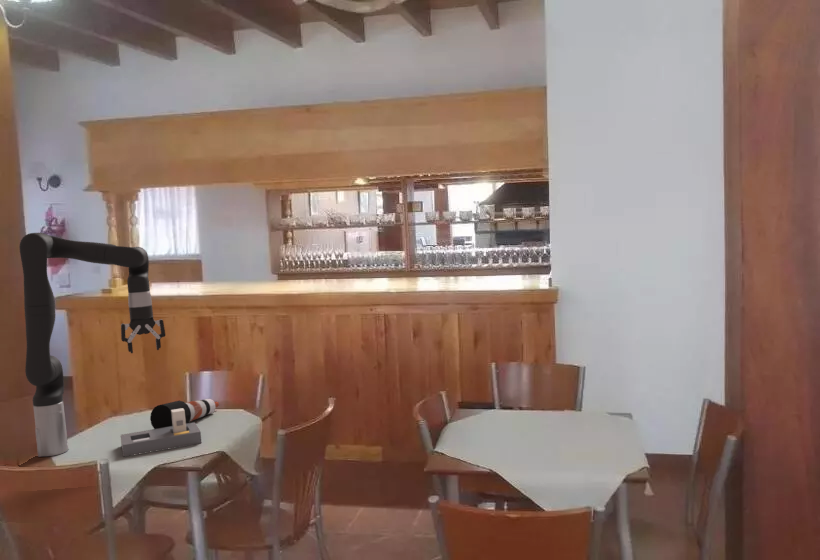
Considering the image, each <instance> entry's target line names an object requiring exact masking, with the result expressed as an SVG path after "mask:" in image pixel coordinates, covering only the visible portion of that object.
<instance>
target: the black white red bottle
mask: <svg viewBox="0 0 820 560" xmlns="http://www.w3.org/2000/svg"><path fill="white" fill-rule="evenodd" d="M219 406H220V404H219V401H214V400H213V399H211V398H206V399H201V400H191V401H188V402H185V401H182V400H175V401H171V402H166V403H162V404H159V405H156V406H154V407H153V408H152V410H151V412H150V418H149V420H150V424H151V426H152V428H153V429H158V428H164V427H170V426H173V425H172V414H171V410H174V409H180V408H183V409H184V410H185V420H186V424H188V423H192V421H194V420H198V419H200V418H203V417H206V416H208V415H210V414H213V413H214V412H215V411H216V408H218V407H219Z"/></svg>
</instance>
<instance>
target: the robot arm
mask: <svg viewBox="0 0 820 560" xmlns="http://www.w3.org/2000/svg"><path fill="white" fill-rule="evenodd" d="M18 248H19V253H20V254H19V255H20V260H21V265H22V274H23V296H24V297H23V298H24V299H23V300H24V301H23V305H24V319H25V321H24V322H25V337H26V339H25V340H26V354H25V356H26V357H25V369H24V370H25V372H24V373H25V376H26V377H25V378H26V379H27V381H28V382H29V383H30V385H32V386H34V387H35V392H34V394H33V397H32V407H33V416H34V424H35V430H34V431H35V439H36V450H37V457H39V458H40V457H51V456H52V457H53V456H58V455H61V454H64V453H67V451H69V443H68V434H67V433H68V432H67V426H66V425H67V424H66V415H65V407H64V392H65V382H64V371H63V370H64V368H63V366H62V365H63V364H62V363H61V361H60V359H59V358H57V357H56V356H53V355H51V351H50V346H51V338H52V336H53V335H52V334H53V332H54V326H55V324H56V323H55V322H56V302H55V295H54V292H53V289H52V287H51V283H50V281H49V276H48V259H72V260H77V261H82V262H86V263H93V264H100V265H101V264H102V265H109V266H110V265H112V266H113V265H114V266H118V267H123V268H124V267H125V268H128V277H127V279H126V281H127V291H128V293H127V294H128V295H127V296H128V297H127V299H128V303H127V304H128V312H129V320H130V321H129V323H124V322H123V323H121V324H120V337H121V338H120V339H121V341H122V342H125V343H127V351H128V352H129V353H130V354H133V353H134V351H133V350H134V349H133V348H134V347H133V340H134V338H135V337H136V335H138V336H140V335H147V334H149V333H151V334H152V336H154V337H155V346H156V350H157V351H159V350H160V349H161V347H162V346H161V343H162V342H161V339H162V338H164V337H166V329H165V323H164V320H163V319H162V318H160V319H158V320H155V318H154V312H153V301H152V300H153V299H152V295H151V289H150V288H151V287H150V280H149V272H150V271H149V269H150V267H149V263H150V262H149V259H150V258H149V254H148V251H146V250H145V248H143V247H141V246H123V245H122V246H120V245H119V246H118V245H115V244H112V243H104V242H94V241H79V240H71V239H66V238H61V237H57V236H53V235H51V234H47V233H45V232H31V233H28V234H25V235H24V236H23V237H22V238H21V240H20V242H19V247H18ZM155 325H157V326H158V327H160V328H159V329H160V333H159V334H158V333H157V332H156V330H154V329H153V328H155ZM129 328H130V329H131V330H132V332H130V334H129V336H128V337H126V331H127V330H128V329H129Z"/></svg>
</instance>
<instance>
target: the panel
mask: <svg viewBox="0 0 820 560" xmlns="http://www.w3.org/2000/svg"><path fill="white" fill-rule="evenodd" d="M201 433H202V432H201V430H200V428H199V426H198V425H197V423H196V422H195V421H194V422H189V423H188V424H186V431H184V432H178V433H173V426H170V427H164V428H158V429H154V428H153V429H146V430H140V431H135V432H129V433H123V434H120V442H121V450H122V455H123V456H122V457H124V456H127V457H130V456H129V455H132V456H135V455H134V454H138V455H140V454H139V453H143V454H146V453H145V452H149V453H151V452H150V451H155V452H157V451H156V450H160V451H163V450H162V449H166V450H169V449H168V448H171V449H175V448H174V447H177V448H180V447H179V446H182V447H187V446H186V445H188V446H192V445H193V446H194V445H197V444H198V445H199V444H202V443H203V442H202V434H201Z"/></svg>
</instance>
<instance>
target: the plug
mask: <svg viewBox="0 0 820 560" xmlns="http://www.w3.org/2000/svg"><path fill="white" fill-rule="evenodd" d="M171 414H172V425H173V433H178V432H184V431H186V420H185V410H184V409H183V408H180V409H174V410H171Z"/></svg>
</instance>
